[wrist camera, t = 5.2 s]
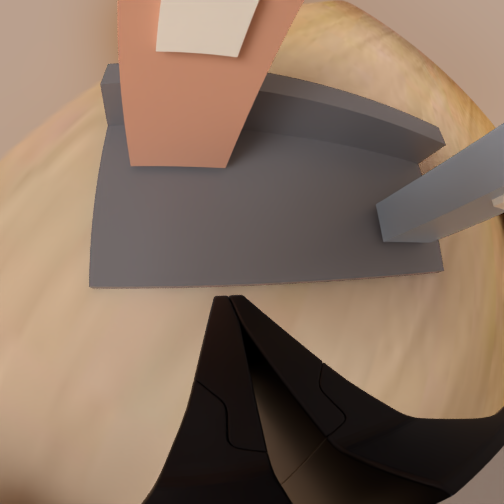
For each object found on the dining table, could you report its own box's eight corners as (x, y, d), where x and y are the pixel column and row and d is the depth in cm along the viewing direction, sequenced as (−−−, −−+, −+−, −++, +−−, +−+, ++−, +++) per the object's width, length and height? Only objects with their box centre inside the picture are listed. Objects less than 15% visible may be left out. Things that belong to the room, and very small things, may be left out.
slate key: (430, 247, 22) (555, 195, 10) (384, 246, 20) (535, 177, 8) (422, 210, 23) (537, 148, 11) (375, 204, 21) (510, 118, 9)
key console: (437, 272, 23) (478, 260, 19) (92, 288, 15) (65, 273, 10) (407, 150, 26) (438, 127, 22) (113, 112, 18) (108, 63, 13)
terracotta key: (225, 173, 18) (316, -12, 6) (130, 171, 16) (116, -35, 4) (223, 131, 19) (295, -40, 7) (136, 128, 17) (141, -58, 5)
